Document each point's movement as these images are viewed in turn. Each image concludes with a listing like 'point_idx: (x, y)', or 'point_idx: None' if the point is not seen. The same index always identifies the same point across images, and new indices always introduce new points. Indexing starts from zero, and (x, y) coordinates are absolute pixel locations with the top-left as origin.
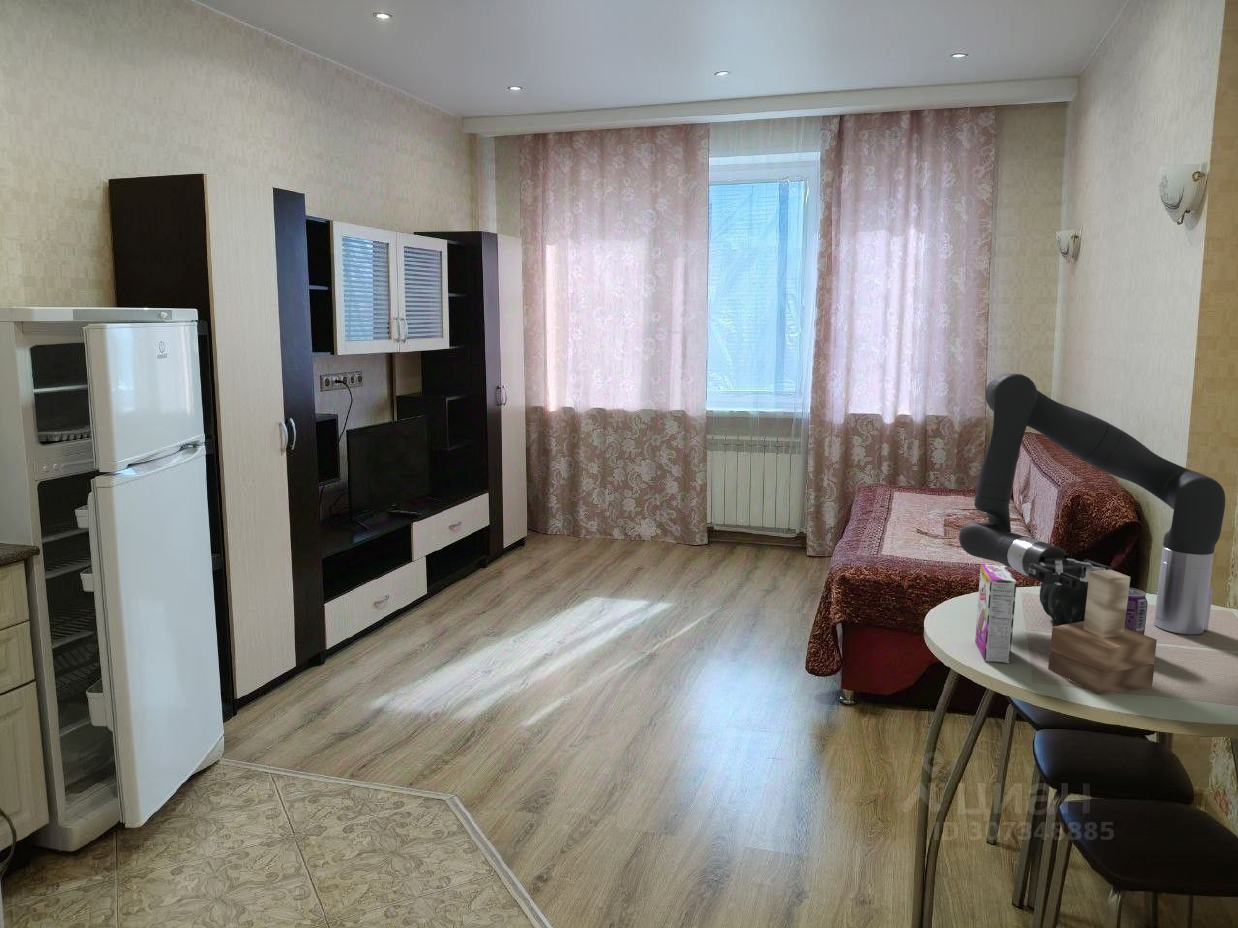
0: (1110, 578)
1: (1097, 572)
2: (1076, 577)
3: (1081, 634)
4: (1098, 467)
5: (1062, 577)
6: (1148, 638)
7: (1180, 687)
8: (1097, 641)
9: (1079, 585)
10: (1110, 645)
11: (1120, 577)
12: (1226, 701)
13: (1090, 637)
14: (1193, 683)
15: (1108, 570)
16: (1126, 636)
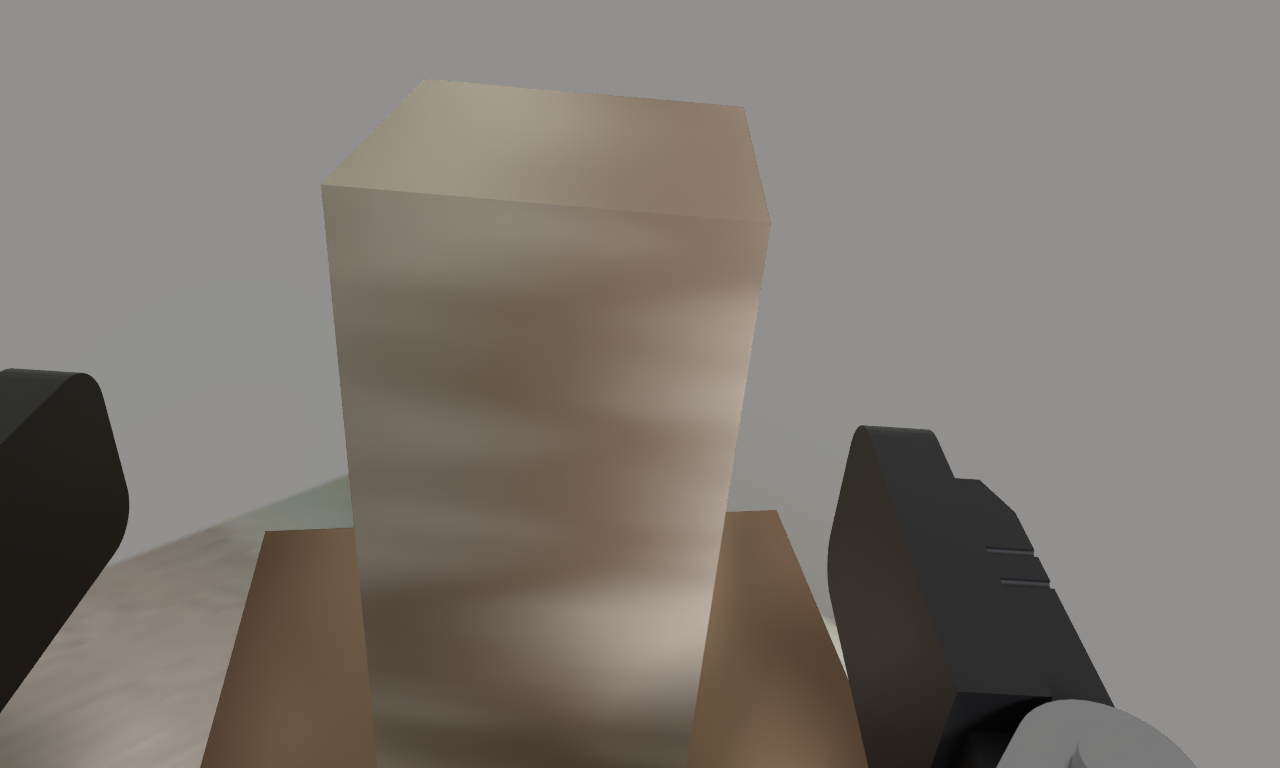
0: (713, 106)
1: (697, 182)
2: (896, 448)
3: (798, 758)
4: None
5: (1082, 663)
6: (300, 559)
7: (175, 707)
8: (770, 610)
9: (840, 507)
10: (726, 543)
11: (561, 93)
12: (176, 545)
13: (765, 683)
14: (21, 726)
15: (416, 182)
16: None
